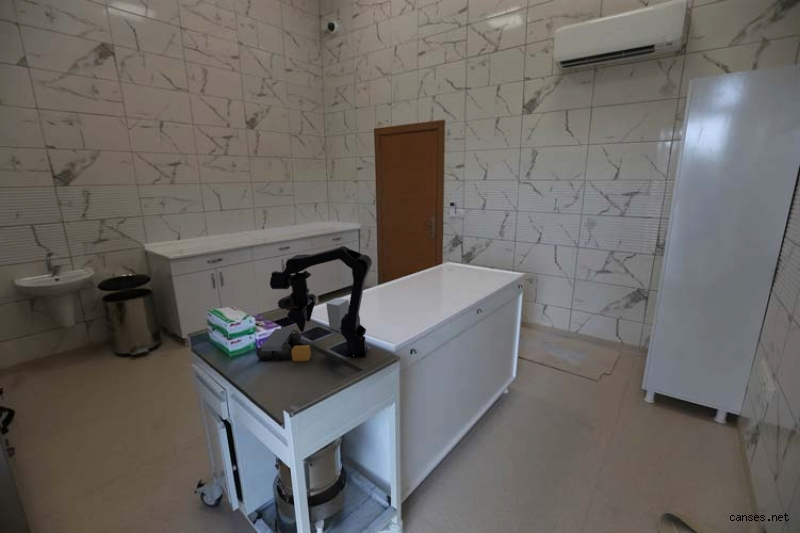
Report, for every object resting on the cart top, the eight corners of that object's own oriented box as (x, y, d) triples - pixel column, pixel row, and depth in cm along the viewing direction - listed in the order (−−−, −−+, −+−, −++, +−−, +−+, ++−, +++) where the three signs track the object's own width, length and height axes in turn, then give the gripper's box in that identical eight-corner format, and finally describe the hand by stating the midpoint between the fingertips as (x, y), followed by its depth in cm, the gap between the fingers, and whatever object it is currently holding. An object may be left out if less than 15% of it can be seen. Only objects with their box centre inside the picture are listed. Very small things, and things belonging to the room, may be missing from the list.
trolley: (302, 342, 154) (300, 328, 152) (290, 361, 140) (287, 345, 138) (272, 343, 155) (269, 329, 153) (257, 361, 141) (254, 346, 139)
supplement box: (352, 325, 167) (349, 299, 164) (341, 331, 161) (338, 305, 158) (339, 322, 171) (336, 297, 168) (328, 328, 165) (325, 302, 162)
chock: (311, 355, 143) (309, 345, 142) (308, 360, 139) (306, 350, 138) (296, 355, 144) (294, 345, 142) (293, 361, 140) (291, 350, 138)
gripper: (286, 281, 147) (292, 317, 152) (269, 298, 129) (276, 338, 134) (313, 280, 147) (318, 316, 151) (301, 297, 129) (307, 337, 133)
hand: (305, 326), depth 142 cm, fingers open, 9 cm apart
